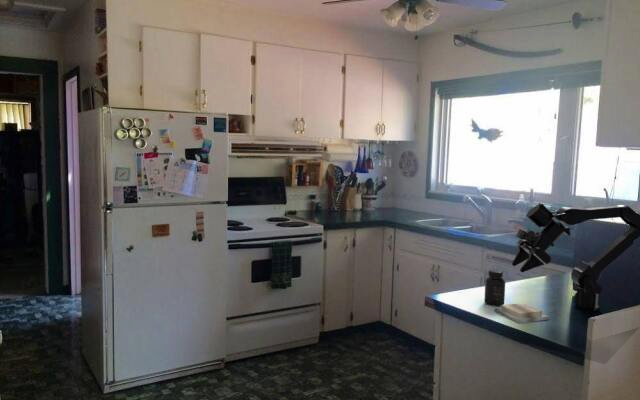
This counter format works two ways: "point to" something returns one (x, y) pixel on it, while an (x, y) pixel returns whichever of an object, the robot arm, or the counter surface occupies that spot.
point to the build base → (520, 320)
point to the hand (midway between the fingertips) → (516, 268)
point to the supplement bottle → (495, 288)
